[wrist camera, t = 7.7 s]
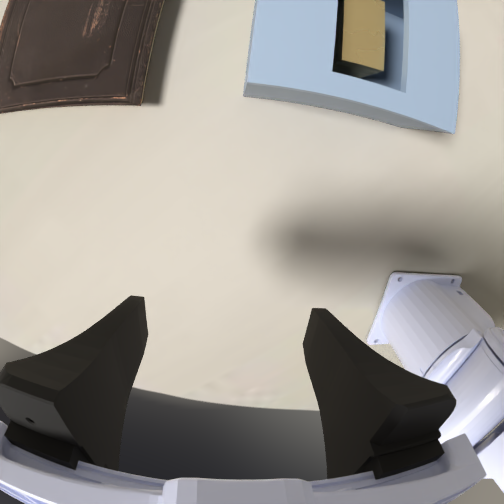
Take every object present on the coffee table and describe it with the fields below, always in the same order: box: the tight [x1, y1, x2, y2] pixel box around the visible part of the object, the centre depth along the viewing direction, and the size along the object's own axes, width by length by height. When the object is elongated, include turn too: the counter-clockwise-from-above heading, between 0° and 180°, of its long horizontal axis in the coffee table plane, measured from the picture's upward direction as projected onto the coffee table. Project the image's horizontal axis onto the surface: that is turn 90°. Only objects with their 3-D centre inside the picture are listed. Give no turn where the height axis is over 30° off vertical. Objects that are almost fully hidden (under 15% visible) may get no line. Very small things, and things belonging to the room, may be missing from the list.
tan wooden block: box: [332, 0, 385, 78], centre depth 14 cm, size 3×5×4 cm, turn 175°
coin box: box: [243, 0, 460, 134], centre depth 13 cm, size 12×10×6 cm
